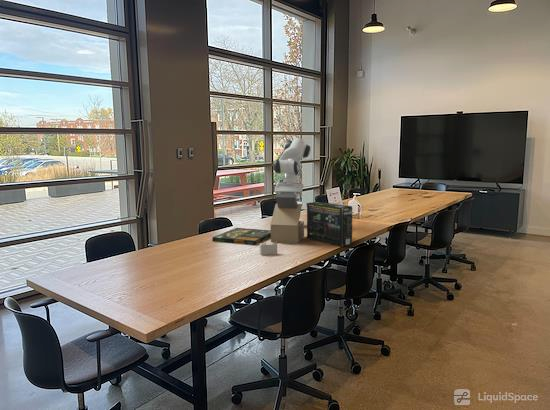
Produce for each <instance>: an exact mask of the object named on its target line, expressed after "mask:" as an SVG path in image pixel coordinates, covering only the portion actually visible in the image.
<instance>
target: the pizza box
mask: <svg viewBox="0 0 550 410" xmlns="http://www.w3.org/2000/svg"><path fill="white" fill-rule="evenodd" d="M211 238H212V242H215V243H216V242H217V243H227V244H236V245H237V244H238V245H247V246H256V245H258V243H259V244H260V243H263V242H264V241H267V240H268V239H271V229H270V230H269V229H258V228H257V229H256V228H245V227H243V228H242V227H235V228H232V229H230V230H228V231H225V232H222V233H220V234H216V235H215V236H212V237H211Z"/></svg>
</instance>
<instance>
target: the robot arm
mask: <svg viewBox="0 0 550 410" xmlns="http://www.w3.org/2000/svg"><path fill="white" fill-rule="evenodd" d="M311 147H312V146H310V145H308V144H305V141H304V139H302V138H300V137H296V138H294V139H293V140H291V139H289V140H286V141H285V142H284V144H283V150H282V152H281V153H280V155H279V156H278V158H276V160H274V162H273V165H272V170H273V171H274V173H276V174H284V178H282V179H278V180H277V182H276V184H275V188H274V193H275V195H276V194H295V196H296V197H297V195H303V189H304V184H303V183H302V182H301V183H299V182H298V176H299V171H300V166H301V162H302V161H301V160H302V159H306V158H308V157H309V156H310V154H311V152H312V149H311Z"/></svg>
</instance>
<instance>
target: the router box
mask: <svg viewBox="0 0 550 410" xmlns="http://www.w3.org/2000/svg"><path fill="white" fill-rule="evenodd" d="M306 239H307V240H313V241H316V242H320V243H325V244H328V245H329V244H330V245H334V246H339V247H346V246H347V247H348V246H349V245H353V206H352V205H344V204H337V203H330V202H329V203H328V202H321V201H314V202H306Z"/></svg>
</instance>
